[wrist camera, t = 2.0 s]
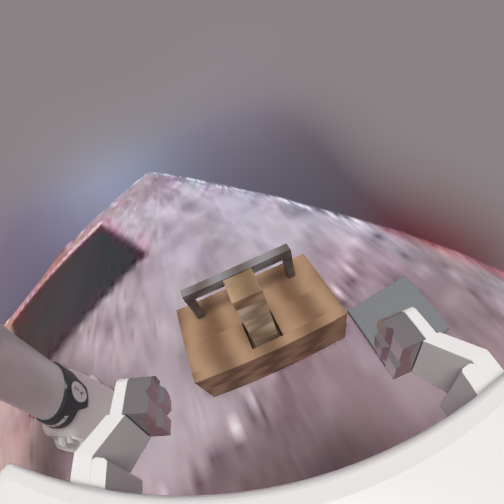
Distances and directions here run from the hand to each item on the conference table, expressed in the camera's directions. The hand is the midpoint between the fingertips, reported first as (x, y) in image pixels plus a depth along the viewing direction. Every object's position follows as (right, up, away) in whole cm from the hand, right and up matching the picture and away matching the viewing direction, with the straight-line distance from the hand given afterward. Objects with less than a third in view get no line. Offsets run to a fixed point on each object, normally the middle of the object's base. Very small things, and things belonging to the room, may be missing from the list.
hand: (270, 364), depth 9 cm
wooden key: (+2, -10, +33) cm, 35 cm away
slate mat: (+25, -8, +33) cm, 42 cm away
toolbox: (+2, -11, +38) cm, 40 cm away
